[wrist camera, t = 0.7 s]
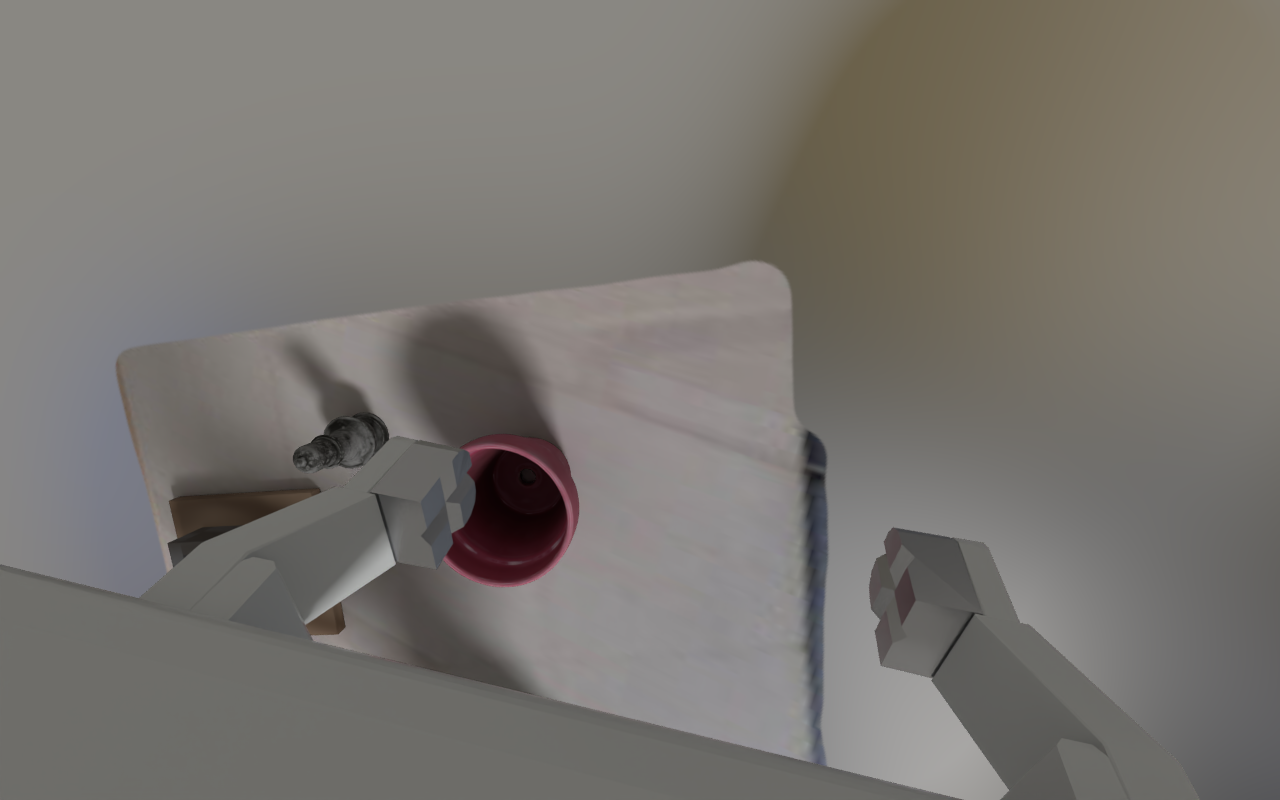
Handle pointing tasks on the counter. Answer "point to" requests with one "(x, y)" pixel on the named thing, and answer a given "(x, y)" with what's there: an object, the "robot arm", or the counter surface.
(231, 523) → the socket holder
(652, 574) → the counter surface
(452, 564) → the plant pot
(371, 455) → the dark grey tall piece
